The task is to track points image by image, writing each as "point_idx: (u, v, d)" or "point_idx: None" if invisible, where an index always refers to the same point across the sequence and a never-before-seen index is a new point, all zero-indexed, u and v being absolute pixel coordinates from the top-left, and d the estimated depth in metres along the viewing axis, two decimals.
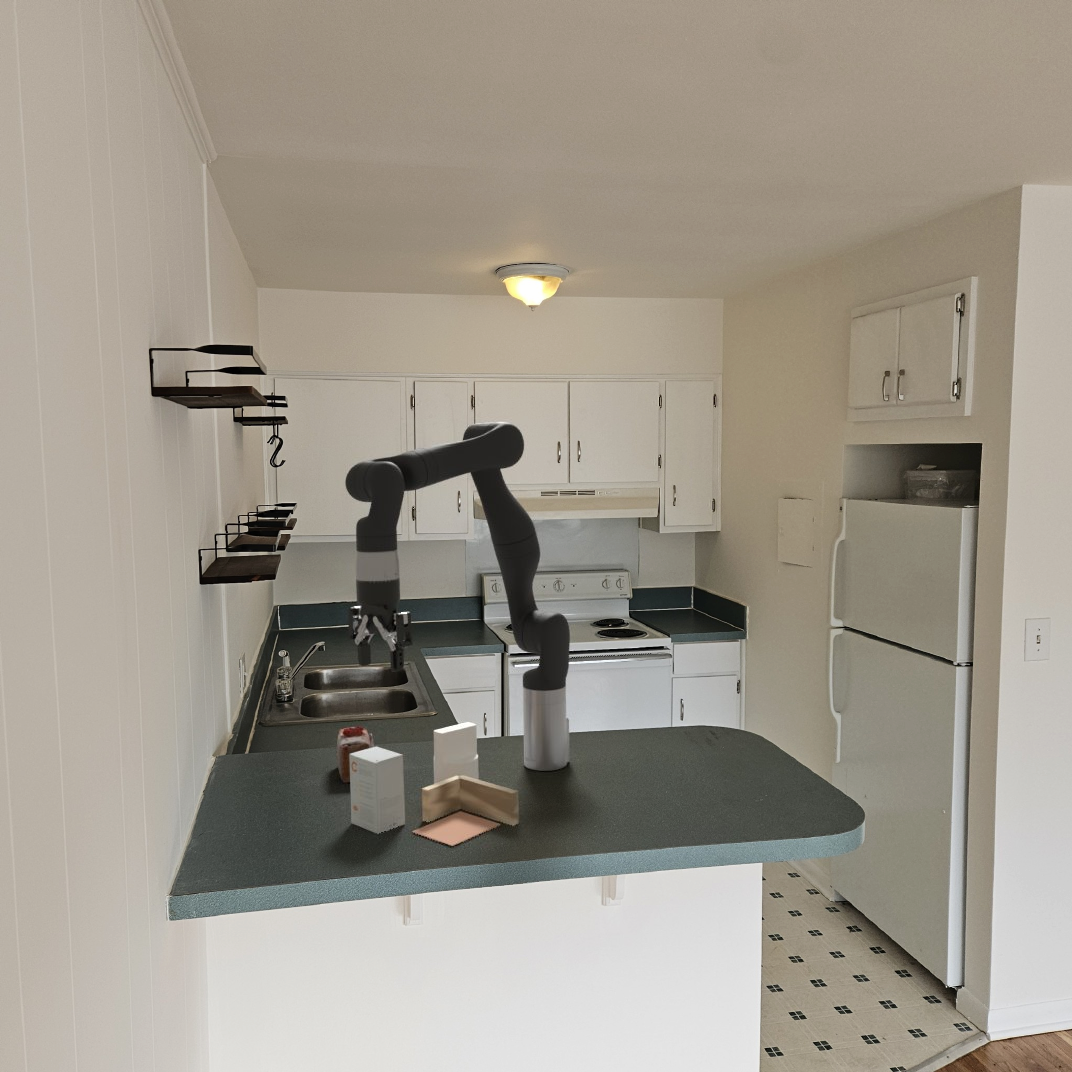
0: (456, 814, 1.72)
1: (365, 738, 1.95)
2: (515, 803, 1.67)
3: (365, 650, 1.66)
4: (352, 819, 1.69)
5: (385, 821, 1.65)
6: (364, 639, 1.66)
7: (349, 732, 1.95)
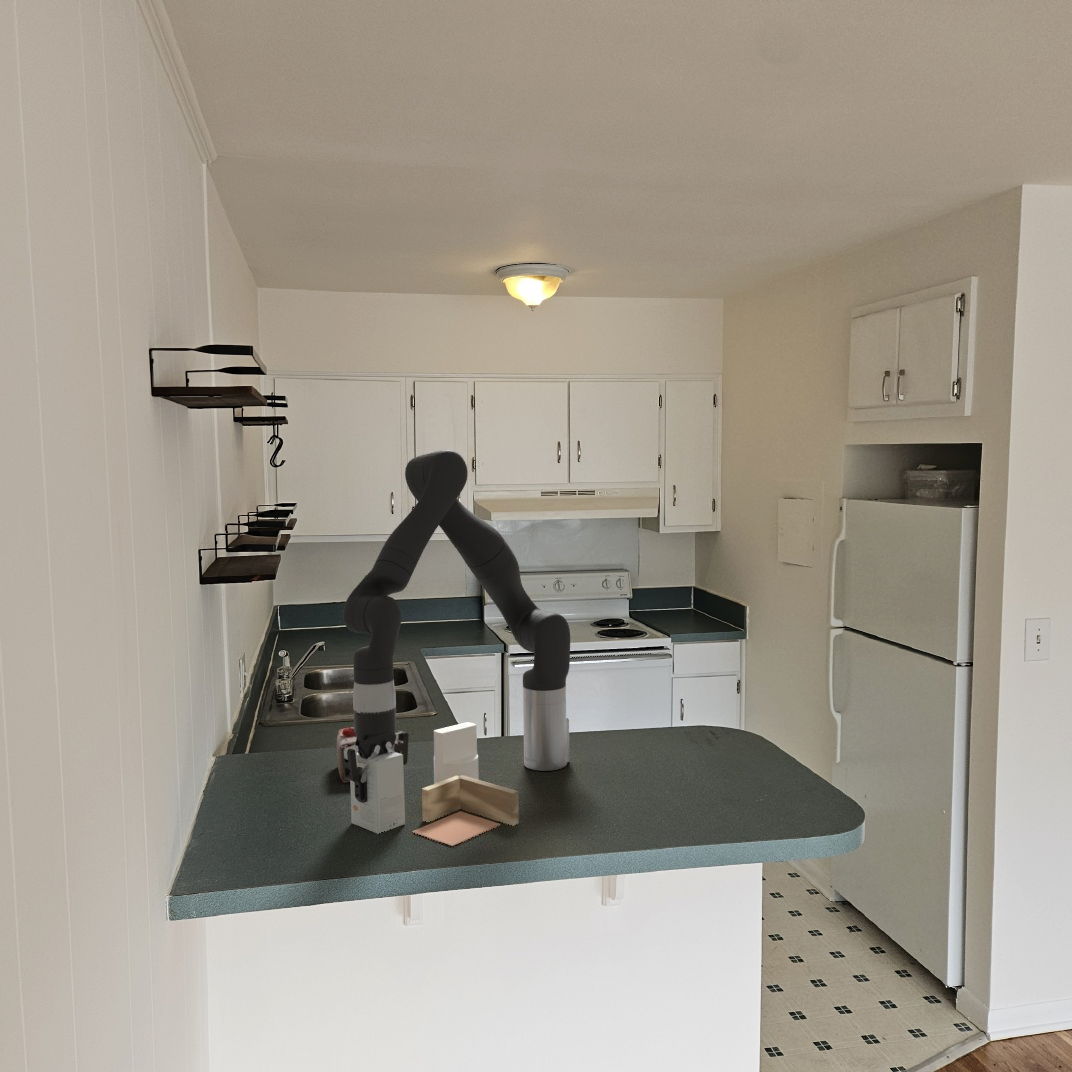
0: (456, 814, 1.72)
1: None
2: (515, 803, 1.67)
3: None
4: (352, 819, 1.69)
5: (385, 821, 1.65)
6: None
7: (349, 732, 1.95)
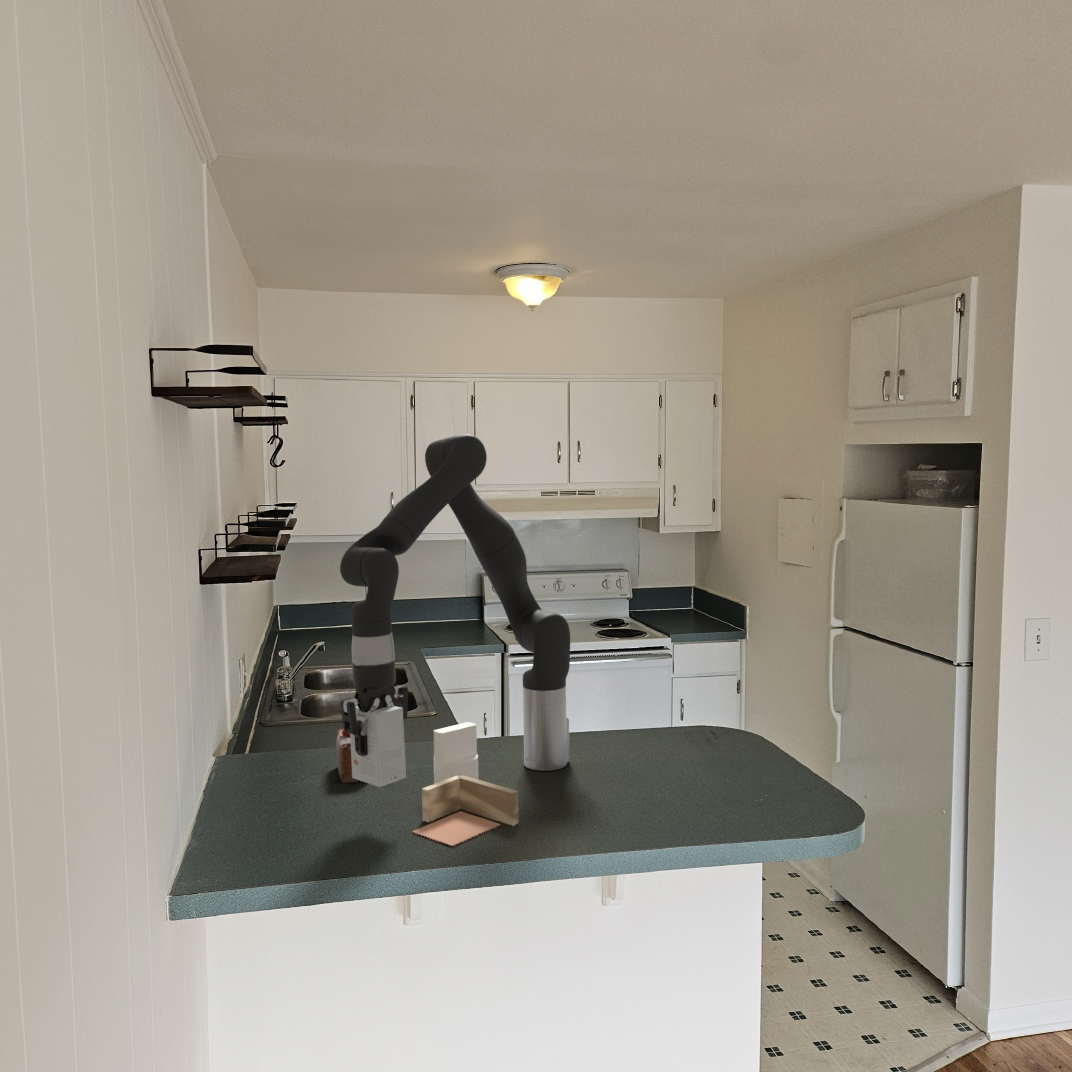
0: (456, 814, 1.72)
1: None
2: (515, 803, 1.67)
3: None
4: (353, 773, 1.68)
5: (386, 774, 1.64)
6: None
7: None
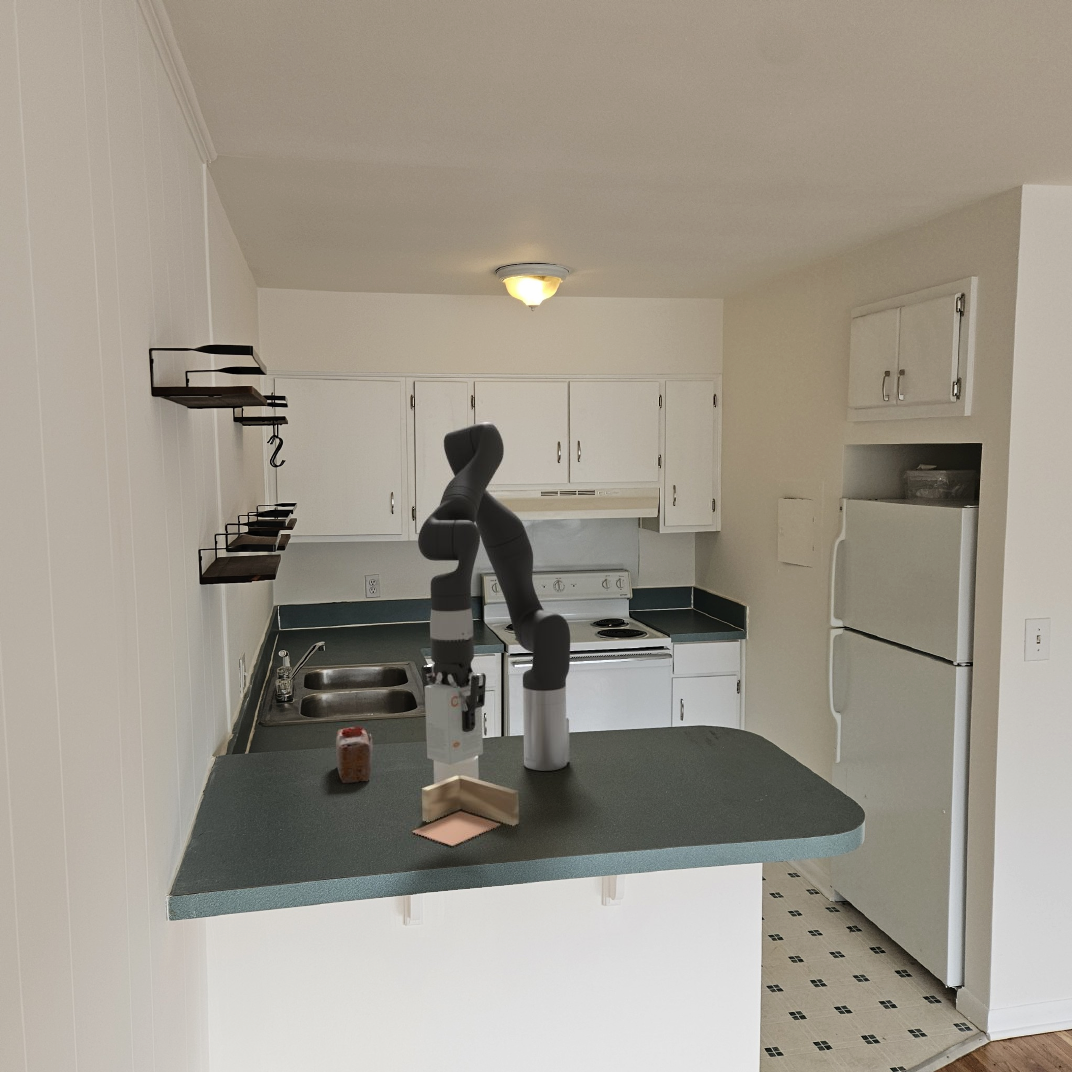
0: (456, 814, 1.72)
1: (364, 738, 1.94)
2: (515, 803, 1.67)
3: None
4: (452, 759, 1.60)
5: None
6: None
7: (348, 732, 1.95)
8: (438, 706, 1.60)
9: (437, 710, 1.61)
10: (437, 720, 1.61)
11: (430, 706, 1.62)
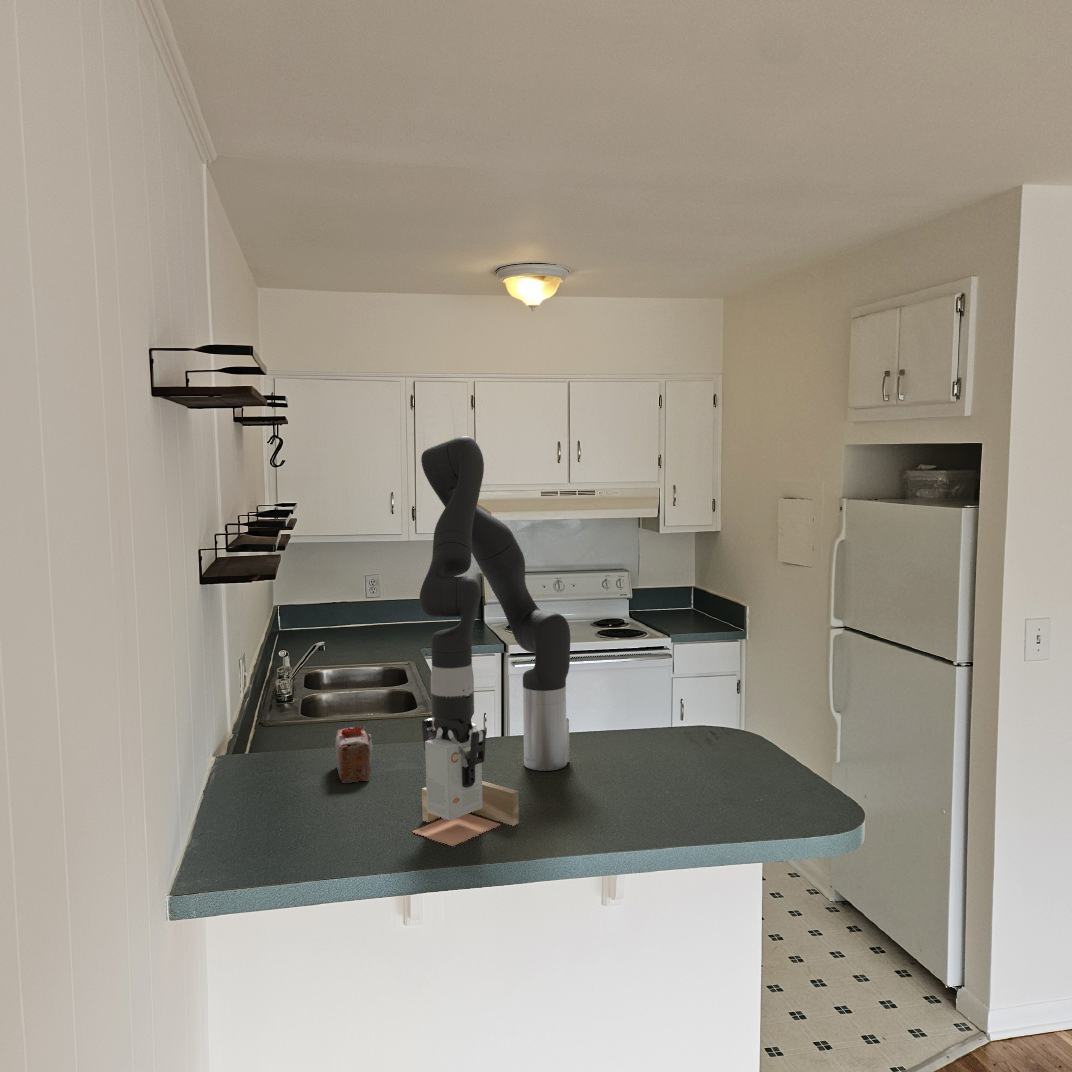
0: None
1: (364, 738, 1.94)
2: (515, 803, 1.67)
3: None
4: (451, 815, 1.61)
5: None
6: None
7: (348, 732, 1.95)
8: (438, 762, 1.61)
9: (437, 765, 1.62)
10: (437, 776, 1.62)
11: (430, 761, 1.63)
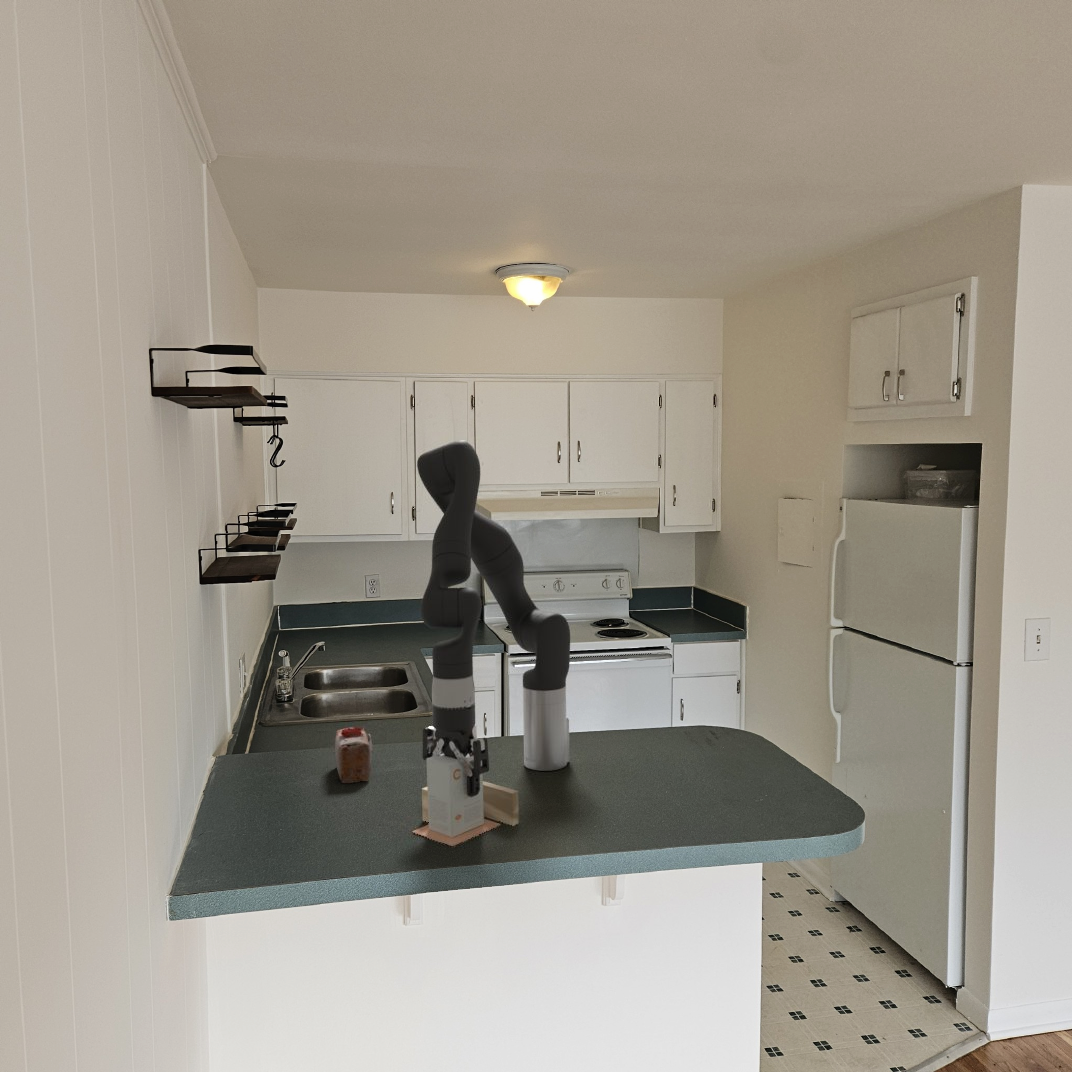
0: None
1: (364, 738, 1.94)
2: (515, 803, 1.67)
3: None
4: (454, 832, 1.61)
5: None
6: None
7: (348, 733, 1.95)
8: (440, 779, 1.62)
9: (439, 783, 1.62)
10: (439, 792, 1.62)
11: (432, 778, 1.63)
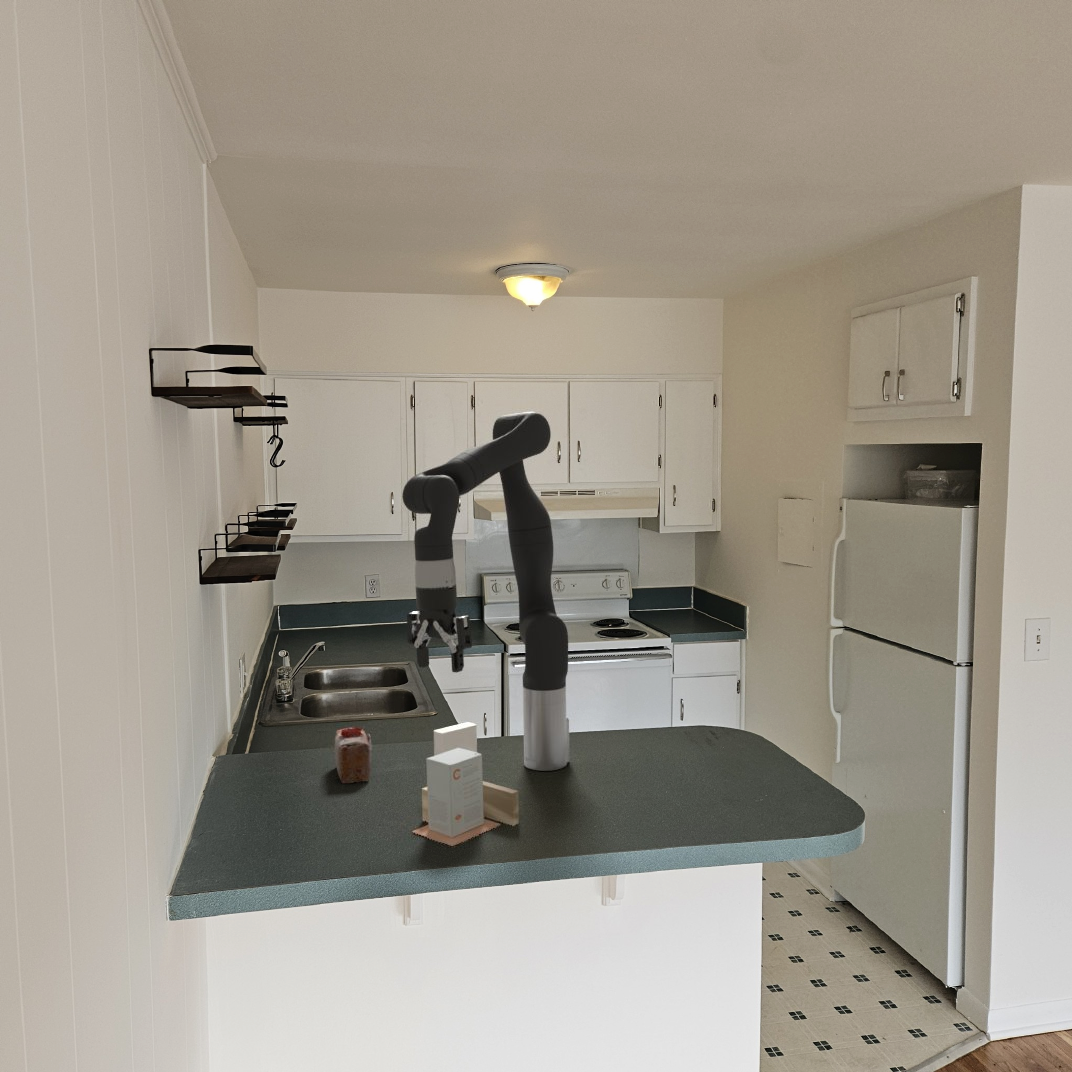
0: None
1: (364, 739, 1.94)
2: (515, 803, 1.67)
3: None
4: (454, 832, 1.61)
5: None
6: None
7: (347, 733, 1.95)
8: (440, 779, 1.62)
9: (439, 783, 1.62)
10: (439, 793, 1.62)
11: (432, 778, 1.63)
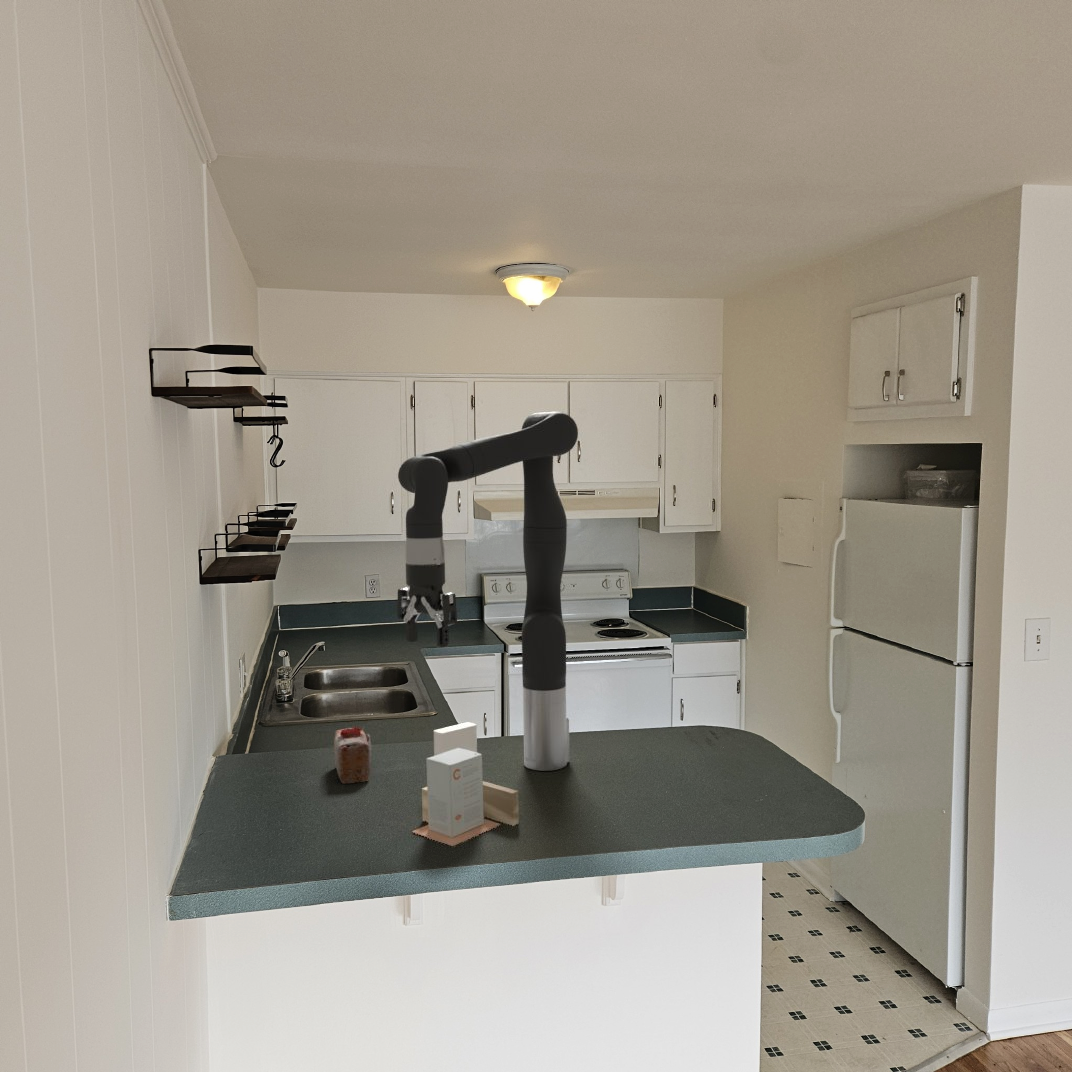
0: None
1: (363, 739, 1.94)
2: (515, 803, 1.67)
3: None
4: (454, 832, 1.61)
5: None
6: None
7: (347, 733, 1.95)
8: (440, 779, 1.62)
9: (439, 783, 1.62)
10: (439, 793, 1.62)
11: (432, 778, 1.63)
